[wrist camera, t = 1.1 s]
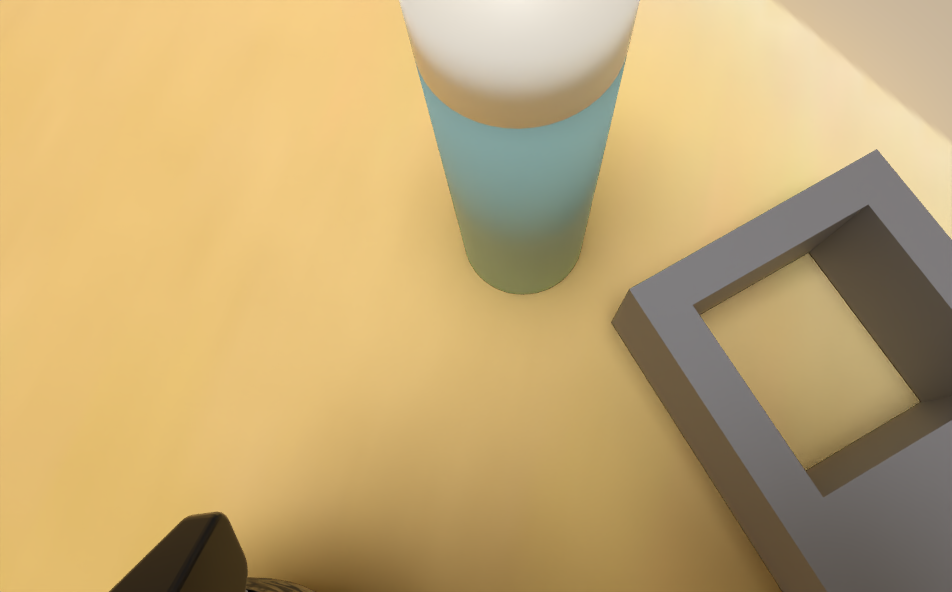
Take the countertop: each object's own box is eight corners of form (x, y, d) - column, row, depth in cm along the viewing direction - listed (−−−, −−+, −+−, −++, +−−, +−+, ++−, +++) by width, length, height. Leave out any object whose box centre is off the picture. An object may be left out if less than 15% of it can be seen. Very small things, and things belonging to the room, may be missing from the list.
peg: (605, 257, 23) (701, -19, 10) (500, 315, 22) (468, 105, 10) (543, 164, 24) (562, -191, 11) (443, 218, 23) (348, -83, 11)
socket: (1074, 539, 19) (1211, 554, 16) (842, 685, 19) (922, 738, 15) (816, 205, 23) (876, 148, 19) (611, 322, 22) (629, 289, 18)
